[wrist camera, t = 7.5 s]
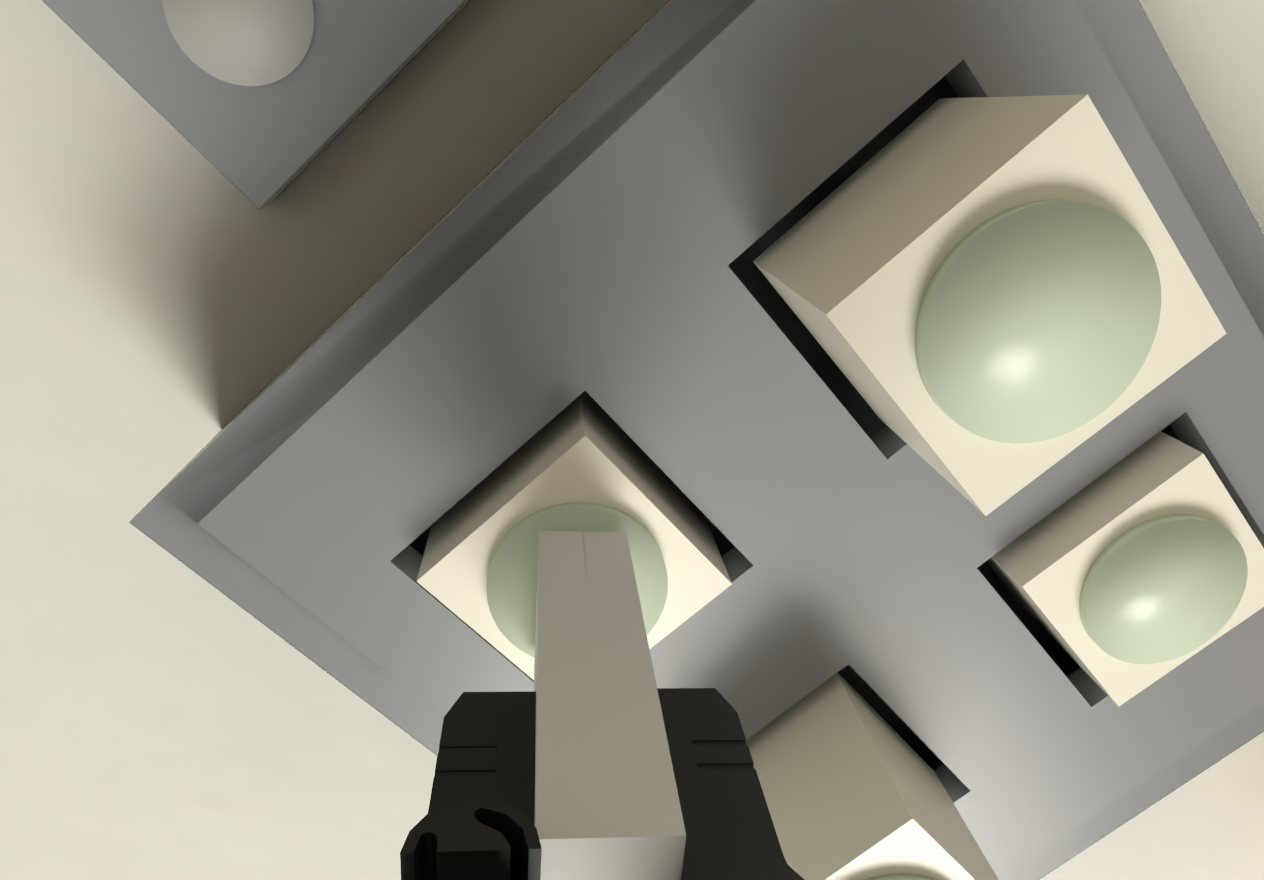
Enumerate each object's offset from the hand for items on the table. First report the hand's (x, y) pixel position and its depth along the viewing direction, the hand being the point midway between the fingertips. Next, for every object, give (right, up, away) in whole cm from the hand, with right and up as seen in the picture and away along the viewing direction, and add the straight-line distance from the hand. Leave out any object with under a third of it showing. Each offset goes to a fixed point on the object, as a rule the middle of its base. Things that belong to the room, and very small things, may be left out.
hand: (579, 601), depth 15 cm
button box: (+5, +2, +6) cm, 8 cm away
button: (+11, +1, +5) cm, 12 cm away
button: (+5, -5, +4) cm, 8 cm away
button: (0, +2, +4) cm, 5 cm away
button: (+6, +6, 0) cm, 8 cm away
